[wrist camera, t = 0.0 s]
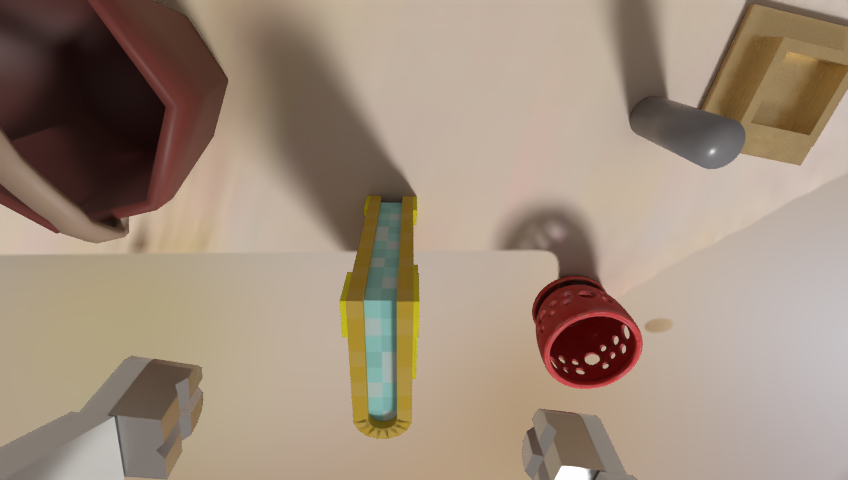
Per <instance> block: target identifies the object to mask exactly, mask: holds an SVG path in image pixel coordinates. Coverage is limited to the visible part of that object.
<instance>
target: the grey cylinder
mask: <svg viewBox="0 0 848 480" xmlns="http://www.w3.org/2000/svg"><path fill="white" fill-rule="evenodd" d="M630 126H631V128H632V130H633V131H634V132H635V133H636V134H637V135H639V136H641V137H643V138H645V139H647V140H649V141H651V142H653V143H655V144H657V145H659V146H661V147H663V148H665V149H667V150H669V151H671V152H673V153H675V154H677V155H679V156H681V157H683V158H685V159H687V160H689V161H691V162H693V163H695V164H697V165H699V166H701V167H703V168H707V169H717V168H720V167H723V166H725V165H727V164H729V163H730V162H732V161H733V160H734V159H735V158H736V157H737V156H738V155H739V153H740V152H741V150H742V148H743V146H744V143H745V137H746V135H745V130H744V127H743V126H742V125H741V124H740V123H739V122H738V121H736V120H734V119H730V118H727V117H724V116H720V115H717V114H714V113H710V112H707V111H704V110H701V109H697V108H694V107H691V106H687V105H684V104H681V103H678V102H674V101H671V100H668V99H664V98H661V97H657V96H652V97H647V98H645V99H643V100H642V101H640V102H639V103H638V104H637V105H636V106H635V107H634V109H633V111H632V113H631V116H630Z"/></svg>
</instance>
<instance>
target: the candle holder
mask: <svg viewBox="0 0 848 480" xmlns="http://www.w3.org/2000/svg"><path fill="white" fill-rule="evenodd" d="M847 89H848V27H847V26H842V25H838V24H834V23H830V22H826V21H822V20H818V19H814V18H810V17H806V16H802V15H798V14H794V13H790V12H786V11H782V10H778V9H774V8H770V7H766V6H761V5H757V4H749V7H748V9H747V11H746V13H745V15H744V17H743V19H742V22H741V24H740V26H739V28H738V30H737V32H736V34H735V37H734V39H733V41H732V43H731V45H730V47H729V49H728V52H727V54H726V56H725V58H724V60H723V62H722V64H721V67H720V69H719V71H718V73H717V75H716V77H715V79H714V82H713V84H712V86H711V88H710V90H709V92H708V94H707V97H706V99H705V101H704V103H703V105H702V107H701V110H704V111H707V112H710V113H714V114H717V115H720V116H724V117H727V118H730V119H734V120H736V121H738V122H739V123H740V124H741V125H742V126H743V127H744V130H745V135H746V137H745V143H744V146H743V148H742V150H741V152H740V153H742V154H747V155H752V156H757V157H761V158H766V159H771V160H776V161H781V162H786V163H791V164H796V165H801V164H802V162H803V160H804V159H805V157H806V155H807V154H808V152H809V150H810V149H811V147H813V146H814V144H815V142H816V141H817V139H818V137H819V136H820V134H821V132H822V131H823V129H824V127H825V126H826V124H827V122H828V121H829V119H830V117H831V116H832V114H833V112H834V111H835V109H836V107H837V106H838V104H839V102H840V101H841V99H842V97H843V96H844V94H845V92H846V91H847Z"/></svg>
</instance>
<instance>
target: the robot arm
mask: <svg viewBox="0 0 848 480" xmlns="http://www.w3.org/2000/svg"><path fill="white" fill-rule="evenodd" d="M201 380H202V367H200V366H198V365H192V364H184V363H178V362H172V361H165V360H159V359H150V358H143V357H137V356H130V357H128V358H127V359H125V360H124V361H123V362H122V363H121V364H120V365H119V366H118V367H117V369H116V370H115V371H114V372H113V373H112V374H111V376H110V377H109V378H108V379H107V380H106V382H105V383H104V384H103V385H102V386H101V387H100V388H99V390H98V391H97V392H96V393H95V394H94V395H93V396H92V398H91V399H90V400H89V401H88V402H87V404H86V405H85V406H84V407H83V408H82V409H81V411H80V412H70V413H68V414H66V415H64V416H62V417H60V418H58V419H56V420H54V421H52V422H50V423H48V424H46V425H44V426H42V427H40V428H38V429H36V430H34V431H32V432H30V433H28V434H26V435H24V436H22V437H20V438H18V439H16V440H14V441H12V442H10V443H8V444H6V445H4V446H2V447H0V480H124V476H125V477H126V476H127V477H140V478H153V479H168V477H169V475H170V473H171V471H172V470H173V468H174V466H175V464H176V462H177V460H178V459H179V457H180V455H181V453H182V440H184V439H185V438H187V437H188V436H190V435H191V434H192V432H193V430H194V429H195V427H196V425H197V423H198V419H199V417H200V414H201V411H202V405H203V392H202V390H201V389H200V388H199V387H198V385H199V383H200V381H201ZM532 421H533V424H534V427H533V428H531V429H530V430H528V431H527V432H526V434H525V437H524V440H523V446H522V459H523V465H524V469H525V472H526V473H527V474H528V475H529V476H530V478H531V479H532V480H637V479H636V478H635V477H634V476H633V475H628V474H626V472H625V469H624V467H623V465H622V463H621V461H620V459H619V457H618V455H617V453H616V451H615V449H614V447H613V444H612V442H611V440H610V438H609V436H608V434H607V432H606V430H605V428H604V426H603V424H602V422H601V420H600V418H598V417H597V416H596V415H589V414H580V413H572V412H564V411H555V410H546V409H538V410H537V411H536V412H535V414H534V416H533V418H532Z"/></svg>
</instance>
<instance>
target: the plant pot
mask: <svg viewBox="0 0 848 480" xmlns="http://www.w3.org/2000/svg"><path fill="white" fill-rule="evenodd" d="M532 315H533V320H534V322H535V325H536V336H537V343H538V347H539V351H540V354H541V357H542V359H543V362H544V364H545V366H546V369H547V370H548V372H549V373H550V375H551V376H552V377H553V378H555V379H556V380H557V381H559V382H561V383H562V384H564V385H567V386H569V387H573V388H580V389H589V388H590V389H591V388H598V387H603V386H606V385H608V384H611V383H613V382H615V381H617V380H619V379H620V378H621V377H623V376H624V375H626V374H627V373H628V372H629V371H630V370H631V369H632V368H633V367H634V366H635V364H636V363H637V361H638V359H639V357H640V355H641V352H642V345H643V343H642V336H641V333H640V330H639V328H638V326H637V325H636V323H635V322H634V320H633V319H632V318H631V316H630V315H629V314H628V313H627V311H626V310H625V309H624V308H623V307H622V306H621V305H620V304H619V303H618V302H617V301H616V300H615V299H613V298H612V297H611V296H610V295H608V294H607V293H606V291H605V290H604V288H603V287H602V286H601V285H600V284H599V283H597V282H596V281H594V280H592V279H590V278H586V277H581V276H569V277H564V278H560V279H558V280H555V281H553V282H551V283H550V284H548V285H547V286H546V287H544V288H543V289H542V290H541V291H540V293H539V294H538V296H537V297H536V299H535V302H534V304H533V309H532ZM625 325H626V326H627V328H628V330H629V332H630V337H629V339H627V338H626V337H625V334H624V327H625ZM616 336H618V338H619V342H618V344H617V345H615V344H614V338H615V337H616ZM624 345H625V346H626V352H625V353H624V354H623V353H622V347H623V346H624ZM603 346H606V350H605V351H603V352H602V351H601V348H602V347H603ZM613 353H615V357H614V358H613V359H611V355H612V354H613ZM590 354H596V355H598V356H599V357H600V361H599V362H598V363H597V364H594V365H589V364H587V363H586V362H585V357H586V356H588V355H590ZM559 358H562V359H563V360H564V361H565V363H562V362H561V361H560V360H559ZM551 360H552V361H553V362H554V364H555V365H556V366H557V368H555V367H554V365H553V364H552V362H551ZM572 361H576V362H578V363H579V364H578V365H574V364H573V363H572ZM605 364H609V367H608V368H606V369H603V365H605ZM564 369H565V370H567V371H568V373H567V372H565V371H564ZM576 370H582V371H584V372H585V373H584V374H583V375H581V374H578V373H577V372H576Z"/></svg>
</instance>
